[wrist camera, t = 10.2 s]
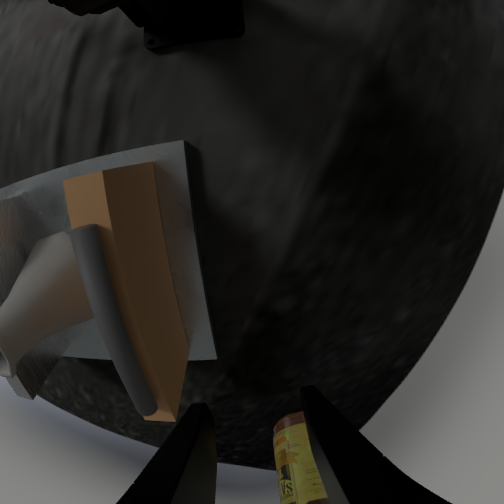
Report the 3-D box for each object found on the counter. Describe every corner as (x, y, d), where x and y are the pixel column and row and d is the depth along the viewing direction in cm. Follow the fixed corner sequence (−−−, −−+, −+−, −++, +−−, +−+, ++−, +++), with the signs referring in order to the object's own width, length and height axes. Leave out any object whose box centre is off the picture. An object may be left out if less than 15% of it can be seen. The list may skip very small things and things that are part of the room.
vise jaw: (152, 161, 16) (87, 173, 8) (189, 351, 21) (173, 436, 13) (123, 166, 16) (46, 184, 8) (165, 352, 21) (141, 434, 13)
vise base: (186, 140, 17) (146, 134, 9) (217, 351, 22) (211, 430, 15) (3, 188, 16) (-64, 211, 9) (53, 348, 22) (16, 402, 14)
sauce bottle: (266, 414, 25) (286, 597, 7) (327, 401, 25) (378, 577, 6) (276, 443, 28) (295, 592, 9) (329, 432, 27) (366, 577, 9)
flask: (114, 324, 20) (60, 421, 10) (43, 308, 19) (-21, 380, 10) (107, 234, 17) (15, 310, 8) (31, 226, 17) (-61, 280, 7)
